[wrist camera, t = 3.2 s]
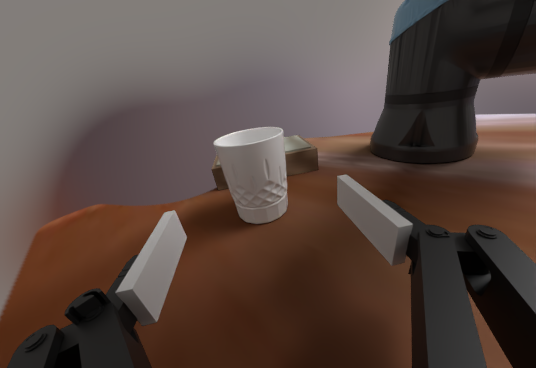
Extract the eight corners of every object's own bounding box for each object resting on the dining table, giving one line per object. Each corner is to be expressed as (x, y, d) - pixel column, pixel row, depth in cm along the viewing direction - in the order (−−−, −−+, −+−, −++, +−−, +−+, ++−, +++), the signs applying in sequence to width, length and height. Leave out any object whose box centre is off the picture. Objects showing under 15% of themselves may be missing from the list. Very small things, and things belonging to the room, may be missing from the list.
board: (300, 152, 44) (298, 133, 42) (318, 169, 34) (317, 146, 32) (222, 168, 43) (217, 149, 41) (218, 190, 33) (210, 167, 31)
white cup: (222, 221, 25) (197, 147, 20) (252, 191, 31) (238, 128, 26) (278, 233, 21) (263, 145, 17) (300, 196, 27) (293, 124, 23)
